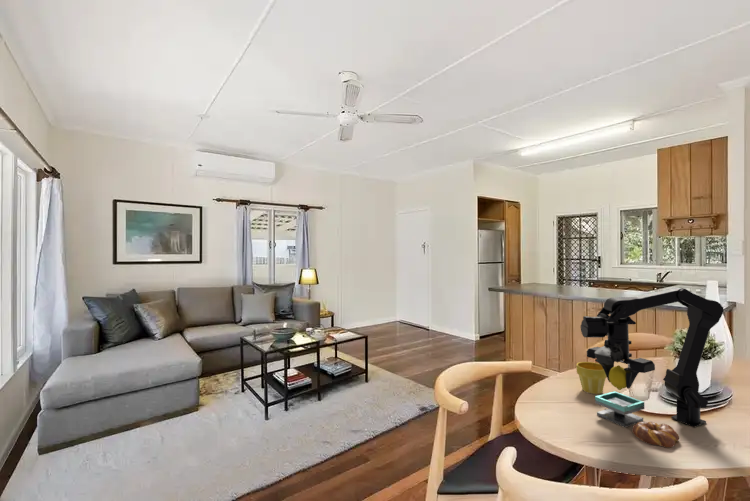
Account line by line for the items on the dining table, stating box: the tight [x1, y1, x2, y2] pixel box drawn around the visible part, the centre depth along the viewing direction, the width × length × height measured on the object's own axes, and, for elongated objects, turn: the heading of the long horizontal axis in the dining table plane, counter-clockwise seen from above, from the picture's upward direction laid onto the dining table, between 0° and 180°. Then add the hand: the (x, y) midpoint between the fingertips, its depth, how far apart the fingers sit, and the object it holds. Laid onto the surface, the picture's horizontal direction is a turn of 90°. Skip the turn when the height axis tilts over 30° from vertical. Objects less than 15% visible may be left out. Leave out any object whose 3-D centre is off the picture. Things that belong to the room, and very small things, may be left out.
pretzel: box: [631, 421, 680, 448], centre depth 107 cm, size 12×11×4 cm
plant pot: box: [575, 361, 607, 395], centre depth 140 cm, size 10×10×10 cm
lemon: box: [609, 365, 627, 391], centre depth 118 cm, size 6×6×8 cm
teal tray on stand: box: [594, 391, 645, 428], centre depth 118 cm, size 10×10×6 cm
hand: (619, 385), depth 118 cm, fingers closed on lemon, 5 cm apart
